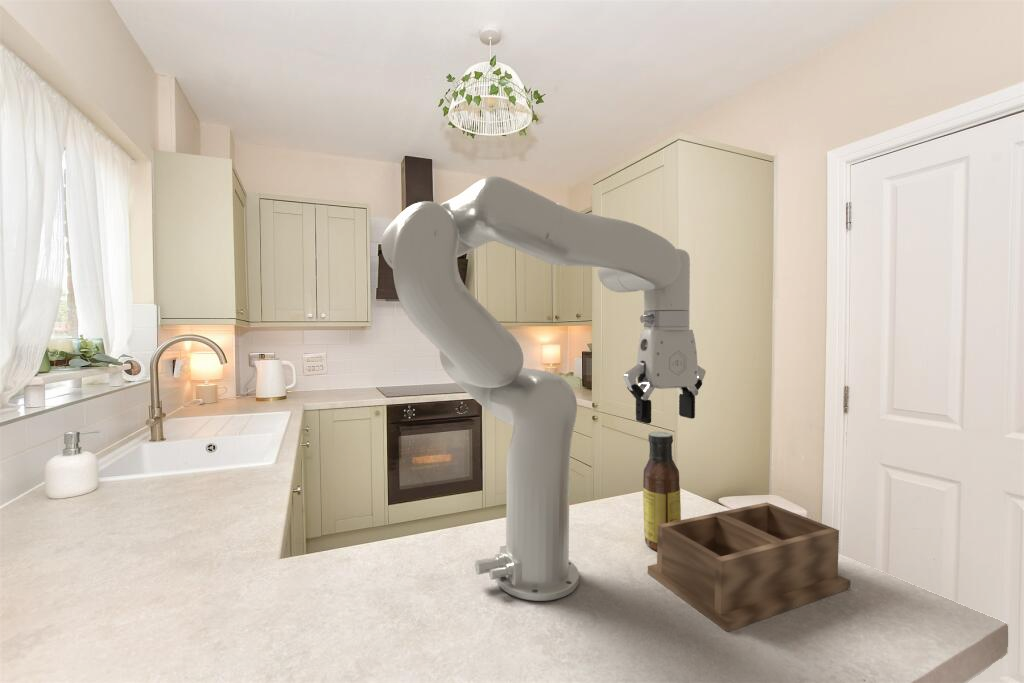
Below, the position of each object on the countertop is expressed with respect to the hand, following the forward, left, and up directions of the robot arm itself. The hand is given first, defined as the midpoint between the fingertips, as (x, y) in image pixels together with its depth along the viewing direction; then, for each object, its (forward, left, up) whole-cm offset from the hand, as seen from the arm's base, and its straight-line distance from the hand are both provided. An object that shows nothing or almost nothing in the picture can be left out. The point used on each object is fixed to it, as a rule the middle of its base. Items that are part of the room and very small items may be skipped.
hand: (665, 419), depth 81 cm
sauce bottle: (0, 0, -23) cm, 23 cm away
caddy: (+4, -14, -22) cm, 27 cm away
